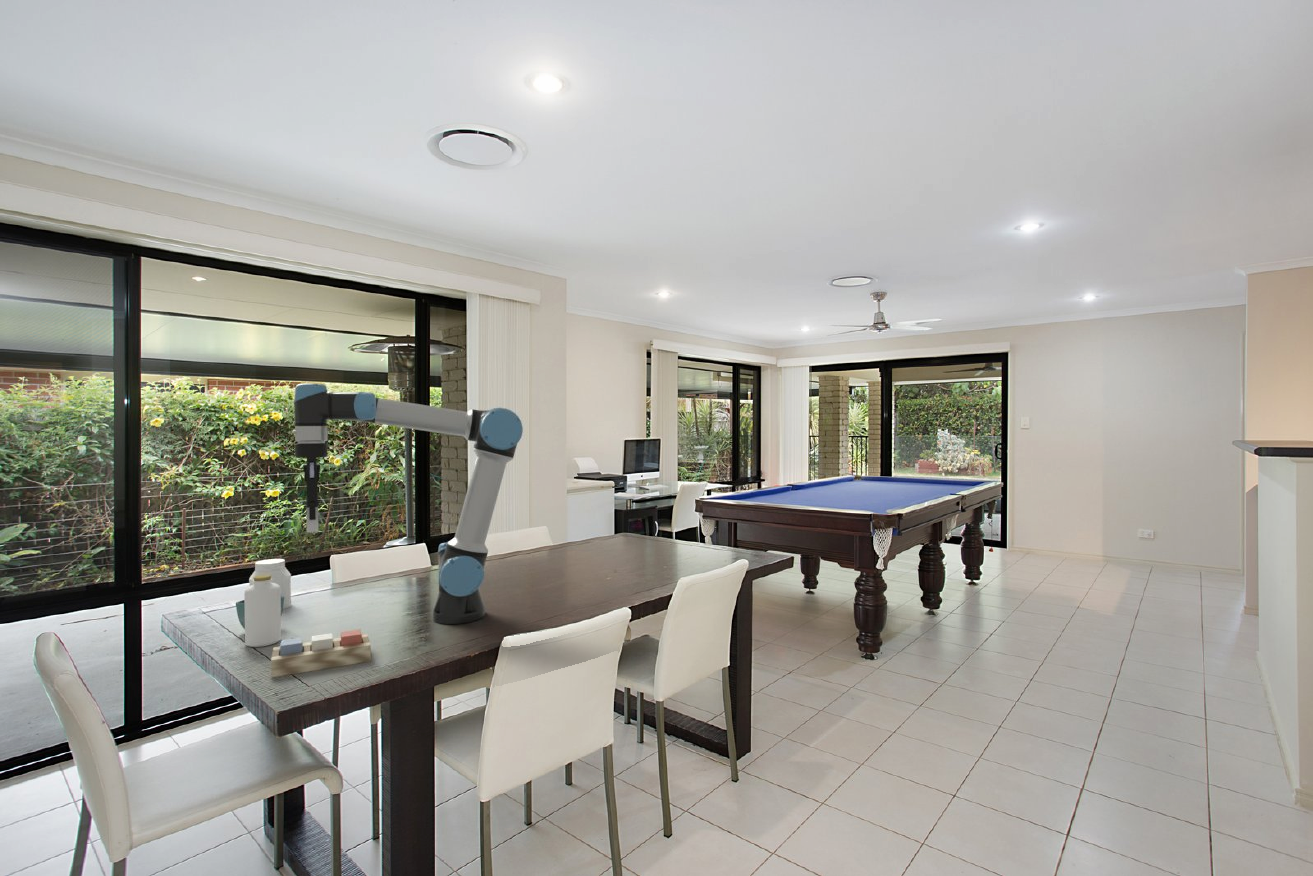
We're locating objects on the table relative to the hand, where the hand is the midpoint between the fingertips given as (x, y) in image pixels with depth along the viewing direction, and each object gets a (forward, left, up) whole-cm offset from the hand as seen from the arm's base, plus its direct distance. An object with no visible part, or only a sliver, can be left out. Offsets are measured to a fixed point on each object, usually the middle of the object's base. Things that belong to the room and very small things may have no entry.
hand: (312, 531), depth 167 cm
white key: (-9, +12, -29) cm, 33 cm away
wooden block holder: (-9, +12, -30) cm, 34 cm away
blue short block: (-3, +15, -29) cm, 33 cm away
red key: (-14, +9, -29) cm, 34 cm away
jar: (+35, -36, -31) cm, 59 cm away
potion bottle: (+15, -2, -31) cm, 34 cm away
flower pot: (+23, -13, -31) cm, 41 cm away
